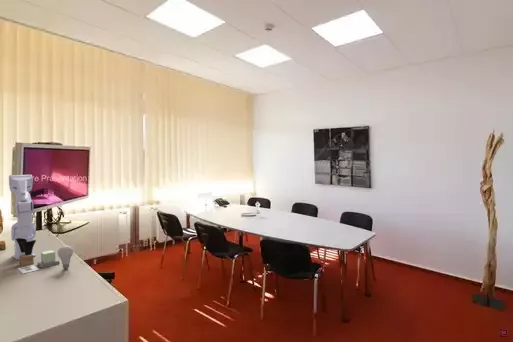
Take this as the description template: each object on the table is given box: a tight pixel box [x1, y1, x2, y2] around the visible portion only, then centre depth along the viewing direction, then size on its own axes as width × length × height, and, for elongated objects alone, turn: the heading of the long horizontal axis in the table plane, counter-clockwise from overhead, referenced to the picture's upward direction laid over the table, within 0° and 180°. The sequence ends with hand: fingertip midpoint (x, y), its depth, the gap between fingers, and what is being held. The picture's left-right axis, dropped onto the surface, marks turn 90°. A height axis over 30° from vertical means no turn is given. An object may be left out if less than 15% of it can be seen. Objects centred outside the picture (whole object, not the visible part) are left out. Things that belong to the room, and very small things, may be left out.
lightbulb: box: [57, 245, 74, 270], centre depth 131 cm, size 6×6×11 cm
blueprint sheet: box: [16, 264, 40, 275], centre depth 132 cm, size 10×6×1 cm, turn 52°
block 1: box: [18, 254, 35, 267], centre depth 138 cm, size 4×4×4 cm
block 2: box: [40, 249, 56, 264], centre depth 138 cm, size 4×4×4 cm
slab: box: [36, 257, 60, 269], centre depth 138 cm, size 7×7×2 cm
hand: (26, 253), depth 138 cm, fingers open, 7 cm apart
